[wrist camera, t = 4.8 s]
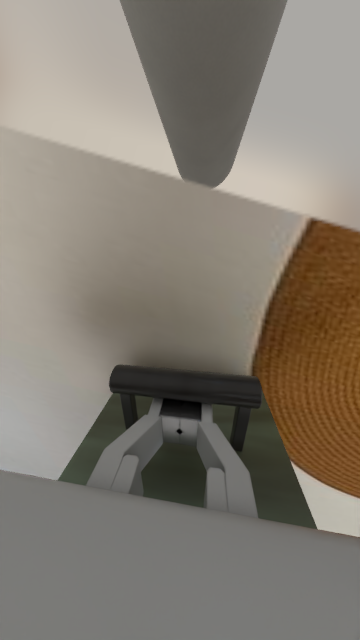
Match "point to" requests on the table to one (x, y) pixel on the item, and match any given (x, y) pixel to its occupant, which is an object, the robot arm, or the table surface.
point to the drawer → (184, 461)
